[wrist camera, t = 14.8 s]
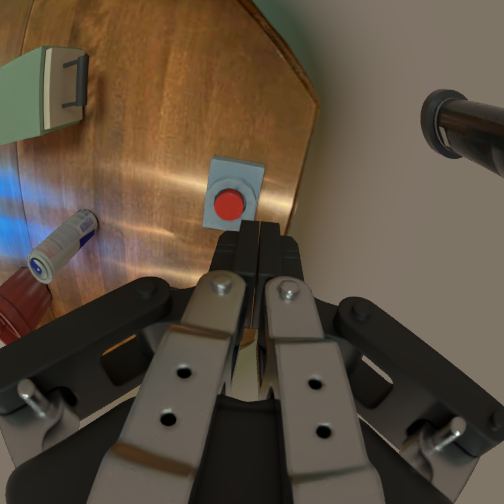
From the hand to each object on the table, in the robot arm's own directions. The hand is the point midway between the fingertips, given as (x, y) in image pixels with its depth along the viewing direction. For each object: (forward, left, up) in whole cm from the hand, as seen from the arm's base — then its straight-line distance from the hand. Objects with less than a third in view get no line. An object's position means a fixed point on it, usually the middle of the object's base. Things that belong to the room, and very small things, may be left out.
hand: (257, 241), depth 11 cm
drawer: (+21, -26, -26) cm, 42 cm away
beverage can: (+32, -5, -27) cm, 42 cm away
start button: (+8, +5, -23) cm, 25 cm away
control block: (+8, +4, -27) cm, 28 cm away
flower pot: (+63, -3, -27) cm, 69 cm away
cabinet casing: (+24, -28, -27) cm, 46 cm away
